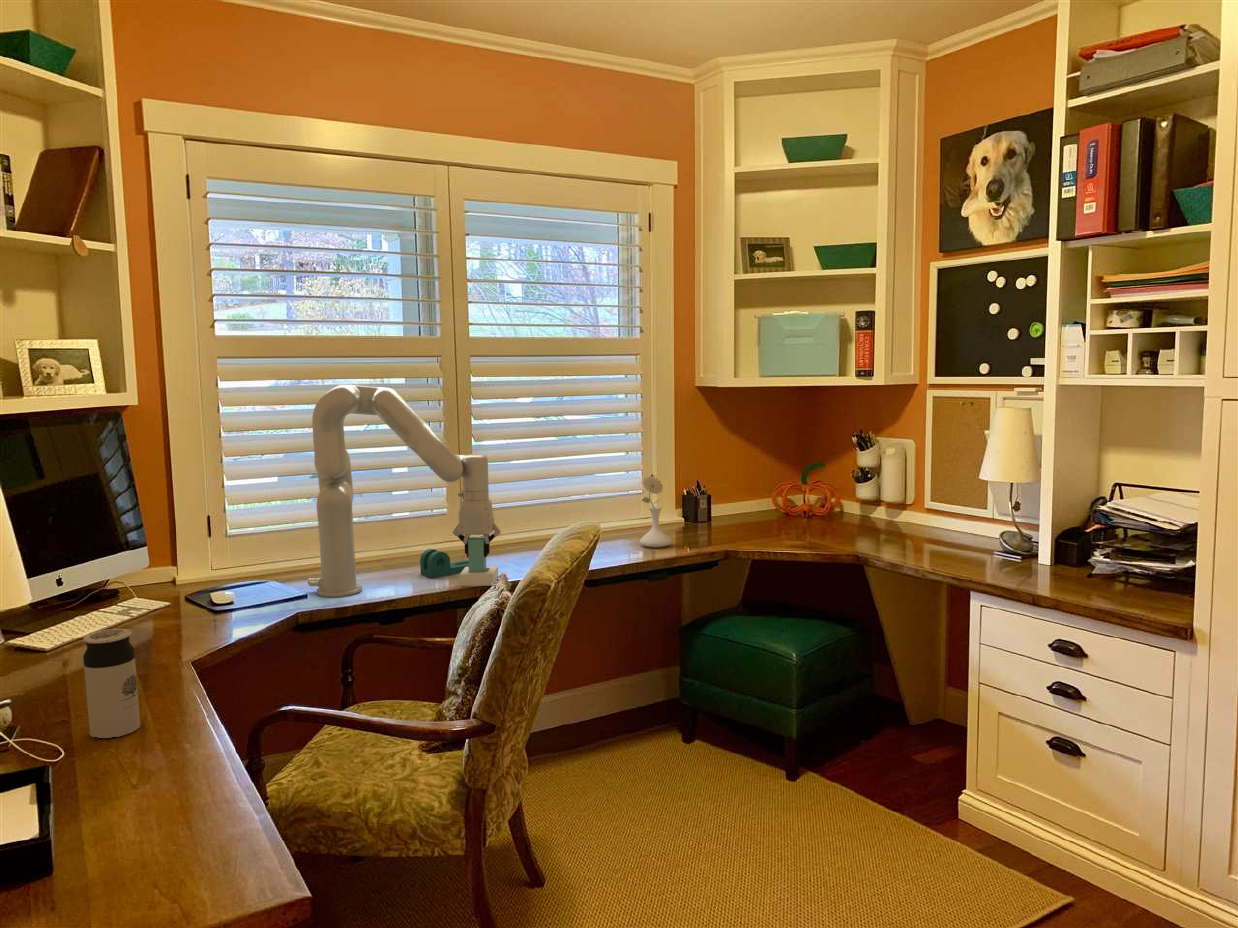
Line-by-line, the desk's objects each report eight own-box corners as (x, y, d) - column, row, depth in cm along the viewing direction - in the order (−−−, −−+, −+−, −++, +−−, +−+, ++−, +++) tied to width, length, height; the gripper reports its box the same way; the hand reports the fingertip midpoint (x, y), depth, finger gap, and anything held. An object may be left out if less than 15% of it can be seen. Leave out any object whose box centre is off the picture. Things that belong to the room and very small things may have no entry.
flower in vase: (678, 546, 316) (677, 476, 314) (652, 550, 310) (651, 479, 307) (656, 541, 327) (655, 472, 324) (630, 545, 321) (629, 475, 318)
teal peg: (468, 572, 268) (468, 539, 267) (471, 569, 272) (470, 536, 271) (483, 572, 268) (483, 539, 267) (486, 569, 272) (485, 536, 271)
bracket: (431, 578, 276) (430, 553, 275) (420, 575, 281) (419, 550, 280) (481, 569, 288) (480, 545, 287) (470, 566, 293) (469, 542, 292)
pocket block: (459, 585, 266) (459, 574, 265) (465, 577, 276) (465, 566, 275) (493, 585, 266) (493, 573, 265) (498, 577, 275) (497, 566, 275)
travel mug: (79, 736, 161) (71, 638, 159) (118, 720, 168) (110, 626, 166) (112, 742, 158) (103, 643, 156) (150, 725, 165) (142, 630, 163)
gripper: (445, 497, 264) (446, 559, 266) (502, 497, 264) (503, 558, 266) (450, 494, 272) (451, 553, 274) (506, 494, 271) (507, 553, 273)
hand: (477, 555), depth 270 cm, fingers closed on teal peg, 4 cm apart
